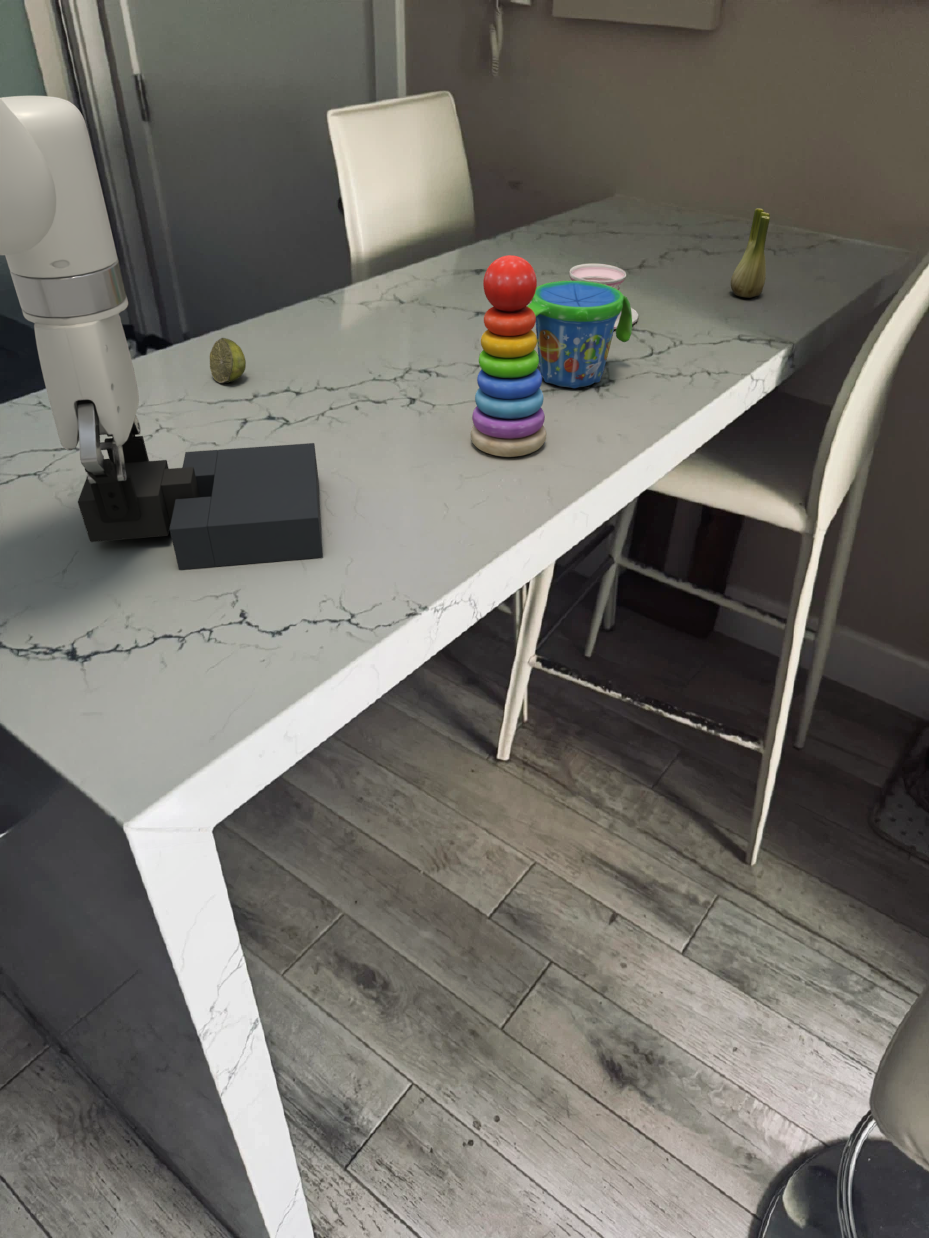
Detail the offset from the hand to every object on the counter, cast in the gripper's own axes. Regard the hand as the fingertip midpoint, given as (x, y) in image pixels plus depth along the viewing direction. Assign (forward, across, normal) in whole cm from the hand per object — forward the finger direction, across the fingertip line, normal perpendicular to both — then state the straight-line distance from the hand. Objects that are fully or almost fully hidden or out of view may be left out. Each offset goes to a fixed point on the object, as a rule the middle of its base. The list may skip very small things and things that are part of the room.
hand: (128, 497), depth 76 cm
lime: (+4, -34, +6) cm, 35 cm away
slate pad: (+3, 0, +10) cm, 11 cm away
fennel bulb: (+4, -55, +81) cm, 98 cm away
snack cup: (+4, -28, +47) cm, 55 cm away
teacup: (+4, -49, +56) cm, 75 cm away
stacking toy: (+4, -12, +36) cm, 38 cm away
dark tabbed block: (+2, 0, +1) cm, 3 cm away
